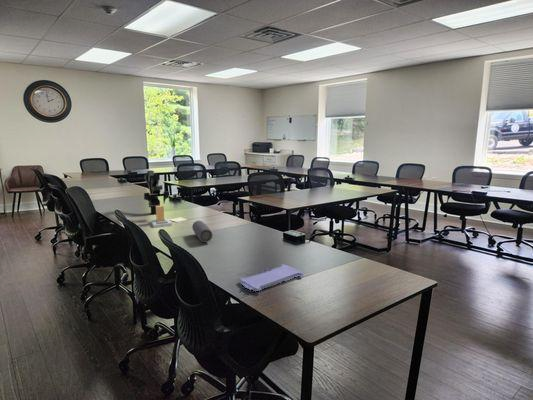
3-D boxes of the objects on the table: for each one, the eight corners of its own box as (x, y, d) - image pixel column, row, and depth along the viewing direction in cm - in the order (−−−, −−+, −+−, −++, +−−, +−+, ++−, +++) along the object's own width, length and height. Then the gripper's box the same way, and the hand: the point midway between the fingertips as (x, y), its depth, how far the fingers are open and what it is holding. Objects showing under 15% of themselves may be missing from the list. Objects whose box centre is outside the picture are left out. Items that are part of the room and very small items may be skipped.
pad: (169, 220, 262) (169, 219, 262) (179, 217, 270) (179, 217, 270) (176, 222, 256) (176, 221, 256) (187, 220, 264) (187, 219, 263)
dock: (150, 221, 258) (150, 218, 257) (167, 220, 263) (167, 217, 263) (153, 227, 242) (153, 224, 241) (172, 225, 247) (171, 222, 247)
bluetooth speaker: (191, 234, 226) (191, 220, 224) (205, 233, 229) (204, 219, 227) (198, 244, 205) (198, 229, 203) (213, 243, 209) (213, 227, 207)
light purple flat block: (234, 284, 153) (254, 296, 142) (234, 275, 152) (254, 287, 141) (283, 268, 172) (304, 278, 160) (283, 260, 171) (304, 269, 159)
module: (156, 222, 256) (155, 205, 253) (163, 221, 258) (162, 205, 255) (157, 224, 251) (156, 207, 249) (164, 223, 253) (163, 206, 251)
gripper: (143, 182, 256) (145, 199, 248) (168, 181, 264) (171, 197, 256) (142, 191, 265) (145, 207, 257) (166, 189, 273) (170, 205, 265)
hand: (158, 204), depth 259 cm, fingers open, 9 cm apart
